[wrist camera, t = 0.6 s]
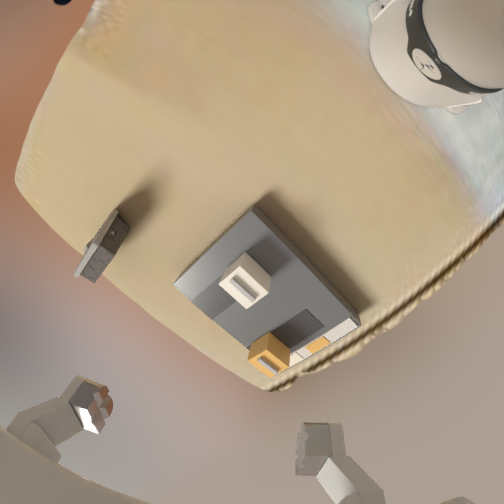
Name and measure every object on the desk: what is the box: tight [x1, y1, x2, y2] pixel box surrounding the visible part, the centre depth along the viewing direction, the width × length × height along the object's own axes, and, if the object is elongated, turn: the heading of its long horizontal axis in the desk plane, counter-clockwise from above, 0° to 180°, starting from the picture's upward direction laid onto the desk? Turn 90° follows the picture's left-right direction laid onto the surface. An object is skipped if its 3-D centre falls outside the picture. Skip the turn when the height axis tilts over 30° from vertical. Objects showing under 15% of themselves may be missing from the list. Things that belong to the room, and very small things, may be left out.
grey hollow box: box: [74, 209, 130, 283], centre depth 41 cm, size 9×5×9 cm, turn 133°
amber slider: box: [248, 332, 290, 377], centre depth 43 cm, size 4×5×5 cm
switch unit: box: [173, 204, 361, 373], centre depth 43 cm, size 17×24×3 cm
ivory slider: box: [219, 252, 271, 309], centre depth 38 cm, size 4×5×5 cm
